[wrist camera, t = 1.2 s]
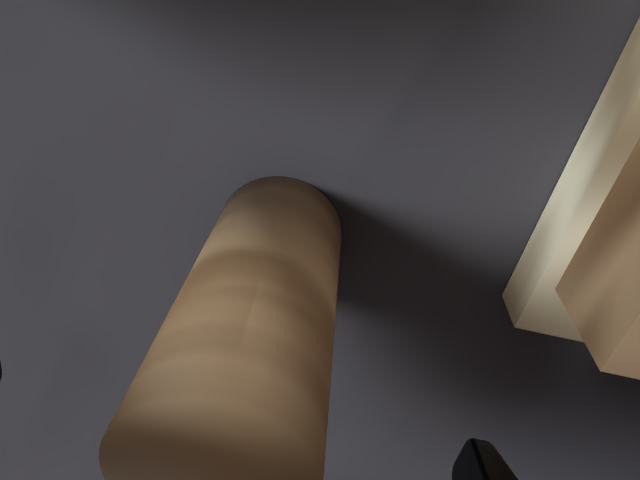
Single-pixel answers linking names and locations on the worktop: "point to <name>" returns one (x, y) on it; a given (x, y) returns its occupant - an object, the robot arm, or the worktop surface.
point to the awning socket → (592, 235)
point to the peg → (241, 350)
